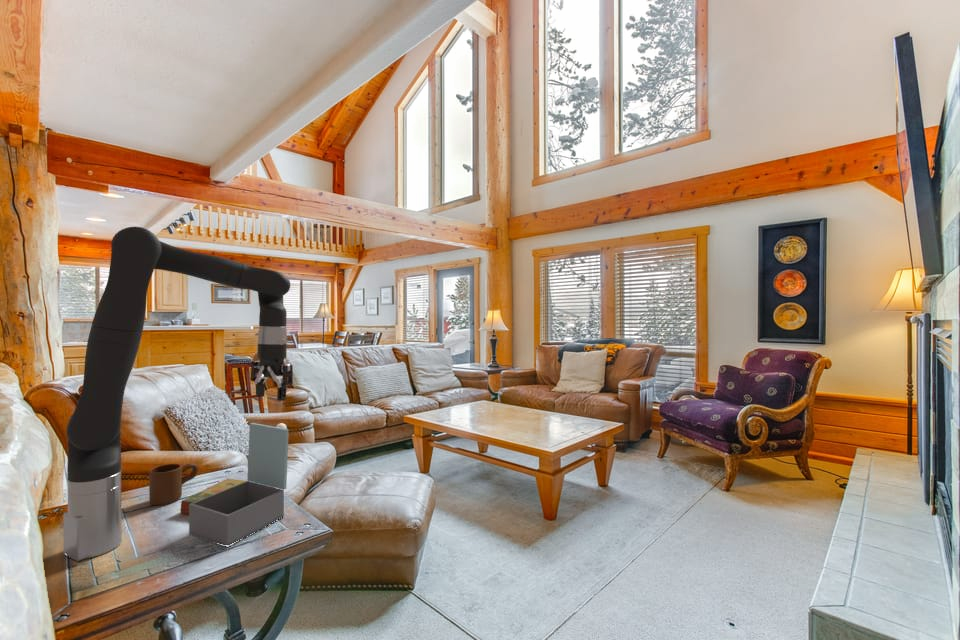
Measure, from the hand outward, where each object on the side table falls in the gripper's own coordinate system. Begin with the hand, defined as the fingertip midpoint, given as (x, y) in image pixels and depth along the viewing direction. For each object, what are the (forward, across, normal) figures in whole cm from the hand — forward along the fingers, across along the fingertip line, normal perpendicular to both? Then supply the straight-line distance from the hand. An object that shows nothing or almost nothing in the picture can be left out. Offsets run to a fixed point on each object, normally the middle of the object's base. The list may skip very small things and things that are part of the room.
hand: (270, 398), depth 123 cm
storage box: (+30, +4, -12) cm, 33 cm away
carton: (+31, -13, -6) cm, 34 cm away
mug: (+31, -27, -10) cm, 42 cm away
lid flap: (+15, +4, -4) cm, 16 cm away
